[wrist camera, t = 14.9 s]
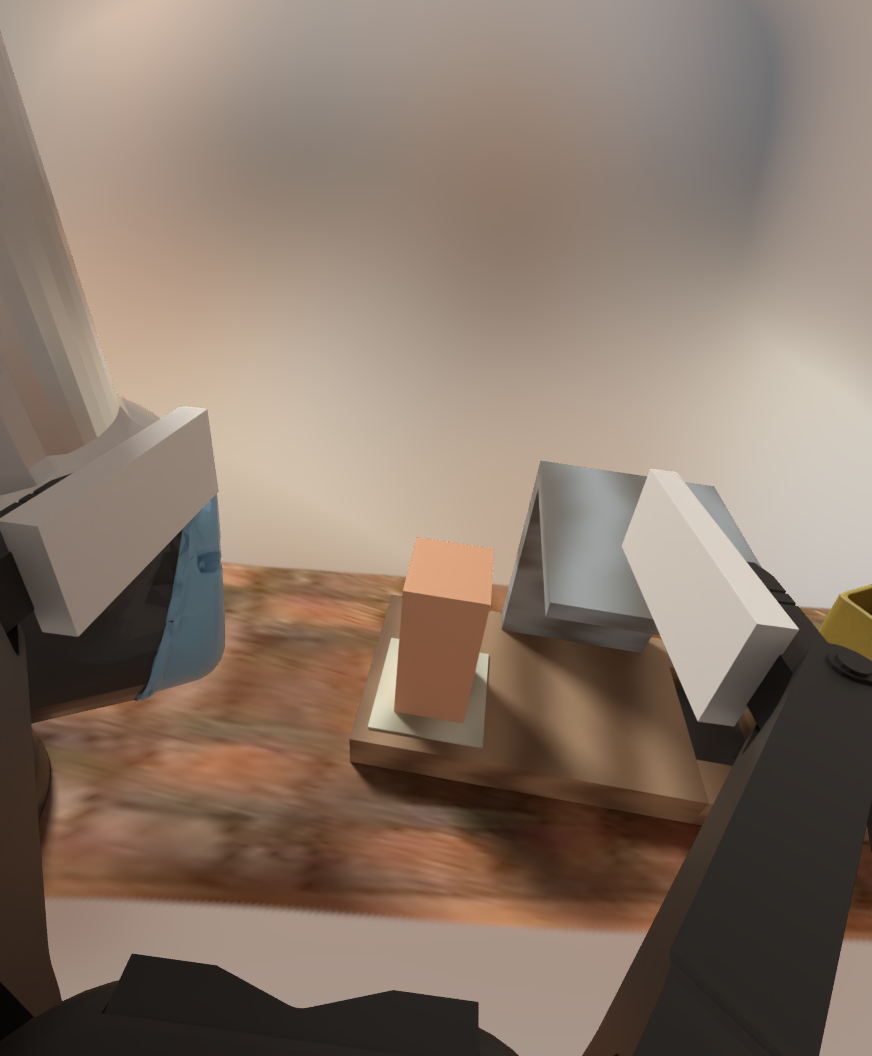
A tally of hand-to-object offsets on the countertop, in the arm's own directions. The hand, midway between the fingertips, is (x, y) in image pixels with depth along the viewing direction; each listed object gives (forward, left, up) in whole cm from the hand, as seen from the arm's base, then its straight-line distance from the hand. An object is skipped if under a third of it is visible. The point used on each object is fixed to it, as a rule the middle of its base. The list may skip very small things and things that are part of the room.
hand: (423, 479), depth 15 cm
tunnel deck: (+12, +12, -27) cm, 32 cm away
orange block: (+1, +10, -24) cm, 26 cm away
